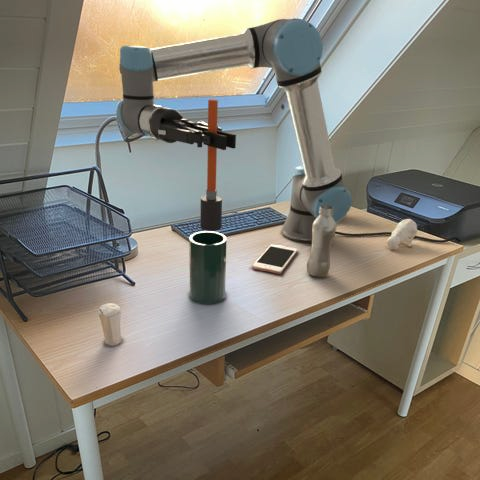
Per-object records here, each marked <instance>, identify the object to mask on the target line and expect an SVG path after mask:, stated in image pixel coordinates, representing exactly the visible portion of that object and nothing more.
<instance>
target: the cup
mask: <svg viewBox="0 0 480 480" xmlns="http://www.w3.org/2000/svg"><path fill="white" fill-rule="evenodd" d="M188 245H189V246H188V247H189V251H188V252H189V297H190V299H191V300H192V301H193V302H195V303H197V304H201V305H214V304H215V305H216V304H218V303H221V302H222V301H223V300H224V299H225V298H226V275H227V274H226V269H227V268H226V267H227V236H226V235H224V234H223V233H220V232H218V231H207V230H204V231H198V232H195V233H192V234H190V236H189V237H188Z"/></svg>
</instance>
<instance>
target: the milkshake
mask: <svg viewBox="0 0 480 480" xmlns="http://www.w3.org/2000/svg"><path fill="white" fill-rule="evenodd" d="M97 313H98V316H99V320H100V324H101V328H102V333H103V337H104V342H105V344H106V345H107V346H112V347H115V346H118V345H119V344H120V343H121V340H122V338H121V317H122V316H121V307H120V306H119V305H118V304H116V303H107V302H106V303H104V304H102V305H100V306H99V308H98V312H97Z"/></svg>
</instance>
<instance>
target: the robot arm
mask: <svg viewBox="0 0 480 480" xmlns="http://www.w3.org/2000/svg"><path fill="white" fill-rule="evenodd" d="M323 45H324V44H323V40H322V36H321V33H320V32H319V30H318V29H317V27H316V26H315V25H313V24H312V23H311V22H310V21H307V20H305V19H301V18H295V17H293V18H281V19H280V18H279V19H276V20H273V21H270V22H267V23H264V24H260V25H257V26H253V27H247V28H245V29H244V31H243V32H242V33H237V34H231V35H226V36H221V37H214V38H209V39H208V38H207V39H202V40H196V41H191V42H185V43H179V44H178V43H177V44H173V45H167V46H162V47H161V46H160V47H154V48H150V47H148V46H142V45H141V46H140V45H122V46H121V47H120V49H119V65H118V66H119V73H120V75H121V87H122V100H121V101H120V103H118V105H117V109H116V120H117V122H118V123H119V125H120V126H121V127H122V128H123V127H124V128H123V129H125V128H126V129H125V130H127V129H128V130H127V131H129V132H131V133H133V134H138V135H142V136H144V137H148V138H151V139H154V141H155V142H158V141H161V142H163V143H167V144H174V143H176V142H180V143H184V144H189V145H194V144H196V147H197V148H203V145H205V146H207V147H208V146H211V147H215V148H217V150H218V149H219V150H221V151H225V150H226V151H227V148H229V149H236V148H237V147H236V145H237V134H234V133H231V132H226V131H223V128H222V127H219V126H218V125H217V134H216V133H212V132H209V131H208V122H204V121H203V120H199V121H198V122H196V121H192V120H189V119H187V118H184V117H183V116H182V114H181V113H180V112H179V111H178V110H177V109H174V108H169V107H165V106H163V105H162V106H161V105H157V104H155V94H154V82H158V81H164V80H169V79H176V78H182V77H188V76H192V75H199V74H205V73H210V72H215V71H223V70H228V69H234V68H239V67H245V66H247V67H248V68H249V69H250V70H251V69H257V68H268V69H273V72H274V76H275V79H276V84H277V87H278V88H279V89H282V90H283V91H284V92H285V96H286V101H287V104H288V109H289V113H290V117H291V120H292V124H293V129H294V132H295V137H296V142H297V146H298V149H299V154H300V158H301V162H302V165H298V166H297V165H296V166H295V168H294V170H293V175H292V184H291V185H292V186H291V195H290V205H289V212H288V214H287V217H286V218H285V221H284V223H283V226H282V232H281V233H282V235H283V236H284V237H285V238H287V239H289V240H291V241H295V242H299V243H312V225H313V222H314V221H315V219H316V218H317V217H318V216H319V215H320V214H319V211H320V206H321V205H330V206H332V207H334V211H333V213H334V214H333V215H332V217H333V219H334V221H335V223H337V222H340V221H341V220H342V219H343V218H345V217H346V216H347V215H348V212H349V211H350V210H351V207H352V202H353V200H352V199H353V198H352V196H351V193H350V191H349V190H348V188H346V187H345V185H344V178H343V174H341V173H342V170H341V169H340V168H338V167H336V166H335V163H334V156H333V152H332V147H331V142H330V137H329V132H328V127H327V122H326V117H325V112H324V107H323V102H322V99H321V98H322V97H321V93H320V88H319V82H318V80H319V78H320V77H321V74H322V66H321V58H322V56H323V51H324V48H323V47H324V46H323ZM392 232H393V231H381V232H366V233H365V232H364V233H347V232H340V231H337V230H336V231H335V234H334V235H340V236H346V237H365V236H366V237H369V236H382V235H383V236H384V235H386V236H387V235H389V236H391V234H392ZM413 239H418V240H423V241H427V242H432V243H439V244H440V243H448V242H451V241H453V240H456V241H457V242H461V239H460V238H459V237H457V236H452V237H449V238H446V239H434V238H428V237H423V236H419V235H415V237H414V238H413Z"/></svg>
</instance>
